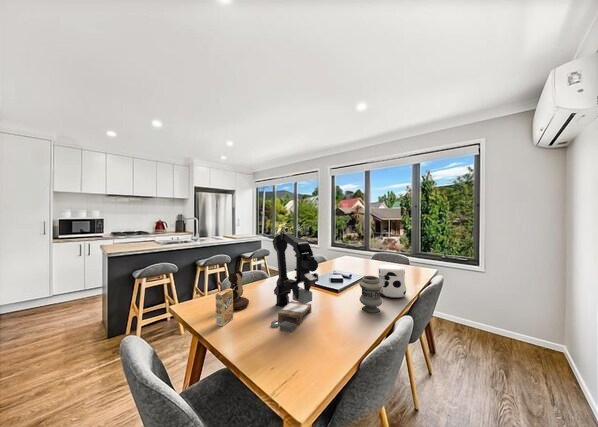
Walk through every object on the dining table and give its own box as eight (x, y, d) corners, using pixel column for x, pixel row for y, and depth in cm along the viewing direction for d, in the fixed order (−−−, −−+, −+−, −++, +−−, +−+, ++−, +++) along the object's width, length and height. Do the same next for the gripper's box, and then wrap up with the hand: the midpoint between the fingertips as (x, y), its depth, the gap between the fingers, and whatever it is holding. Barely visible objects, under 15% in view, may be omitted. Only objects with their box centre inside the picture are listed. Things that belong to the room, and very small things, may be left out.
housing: (303, 304, 113) (303, 292, 113) (292, 299, 119) (292, 288, 118) (312, 300, 117) (312, 289, 117) (301, 296, 123) (301, 286, 123)
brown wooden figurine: (242, 312, 127) (242, 275, 127) (217, 310, 129) (217, 274, 129) (252, 302, 141) (252, 269, 141) (230, 300, 144) (229, 268, 144)
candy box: (223, 326, 111) (222, 294, 111) (215, 325, 112) (215, 293, 112) (233, 318, 120) (233, 288, 119) (226, 317, 121) (226, 288, 121)
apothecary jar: (355, 310, 128) (355, 277, 128) (365, 304, 137) (365, 273, 136) (376, 317, 120) (376, 282, 119) (386, 309, 128) (386, 277, 128)
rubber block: (279, 330, 108) (279, 324, 108) (284, 326, 112) (284, 321, 112) (290, 333, 105) (290, 327, 105) (295, 329, 109) (295, 323, 109)
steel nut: (269, 327, 111) (269, 323, 111) (273, 323, 115) (273, 320, 115) (276, 328, 109) (276, 325, 109) (280, 324, 113) (280, 321, 113)
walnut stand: (278, 320, 117) (278, 311, 117) (291, 308, 132) (291, 300, 132) (300, 324, 113) (300, 315, 113) (311, 311, 127) (311, 303, 127)
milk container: (408, 293, 153) (408, 266, 153) (403, 302, 138) (403, 272, 138) (380, 289, 162) (380, 263, 162) (374, 297, 148) (374, 268, 147)
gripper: (298, 273, 105) (298, 308, 106) (326, 266, 118) (326, 297, 118) (283, 268, 114) (283, 300, 114) (310, 262, 126) (310, 291, 126)
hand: (301, 297), depth 118 cm, fingers closed on housing, 6 cm apart
